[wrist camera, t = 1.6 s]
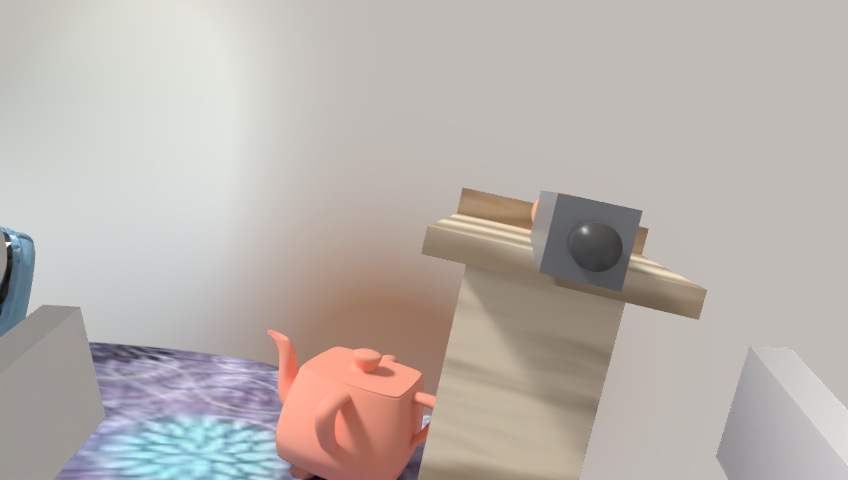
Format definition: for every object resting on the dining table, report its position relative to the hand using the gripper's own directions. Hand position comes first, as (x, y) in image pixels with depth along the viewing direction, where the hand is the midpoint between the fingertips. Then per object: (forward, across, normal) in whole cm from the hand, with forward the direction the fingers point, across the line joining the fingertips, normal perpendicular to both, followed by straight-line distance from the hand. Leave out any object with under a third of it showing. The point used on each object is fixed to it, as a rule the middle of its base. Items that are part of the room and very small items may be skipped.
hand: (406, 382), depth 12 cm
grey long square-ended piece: (+20, +7, -6) cm, 22 cm away
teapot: (+37, -10, -40) cm, 56 cm away
